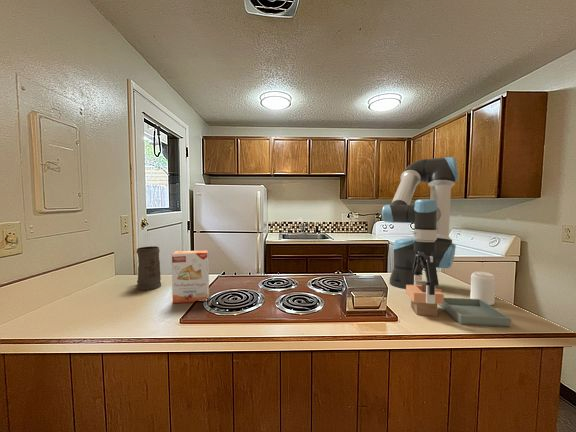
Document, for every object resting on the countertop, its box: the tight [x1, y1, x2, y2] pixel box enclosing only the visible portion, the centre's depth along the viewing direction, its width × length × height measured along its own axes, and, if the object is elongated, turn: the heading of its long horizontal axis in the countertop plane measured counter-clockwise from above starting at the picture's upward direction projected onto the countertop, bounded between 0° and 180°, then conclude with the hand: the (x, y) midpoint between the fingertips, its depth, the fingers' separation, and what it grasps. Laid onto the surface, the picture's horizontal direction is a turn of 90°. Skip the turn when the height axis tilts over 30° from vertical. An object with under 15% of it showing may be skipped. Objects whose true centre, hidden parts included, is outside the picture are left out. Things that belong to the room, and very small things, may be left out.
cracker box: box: [171, 250, 210, 304], centre depth 114 cm, size 14×6×21 cm, turn 100°
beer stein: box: [136, 245, 162, 291], centre depth 135 cm, size 15×11×20 cm
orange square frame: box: [405, 285, 445, 305], centre depth 102 cm, size 10×11×4 cm
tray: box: [438, 297, 512, 328], centre depth 99 cm, size 18×15×3 cm
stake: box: [410, 280, 438, 317], centre depth 102 cm, size 7×7×12 cm
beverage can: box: [469, 271, 496, 306], centre depth 111 cm, size 8×8×12 cm
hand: (423, 297), depth 102 cm, fingers open, 13 cm apart
